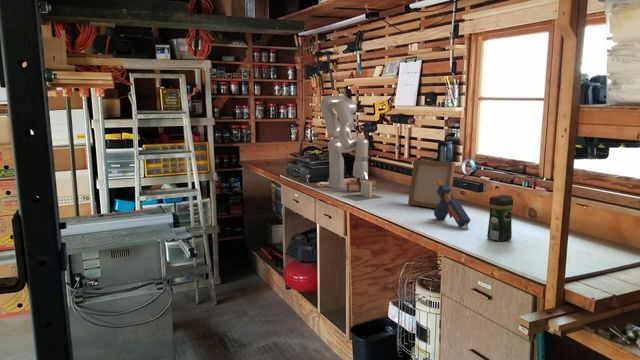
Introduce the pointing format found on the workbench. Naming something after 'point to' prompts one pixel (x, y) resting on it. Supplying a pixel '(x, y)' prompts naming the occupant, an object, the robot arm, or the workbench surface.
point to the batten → (358, 185)
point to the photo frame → (429, 181)
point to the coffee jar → (500, 218)
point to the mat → (360, 197)
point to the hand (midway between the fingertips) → (360, 188)
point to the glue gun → (450, 207)
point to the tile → (366, 188)
